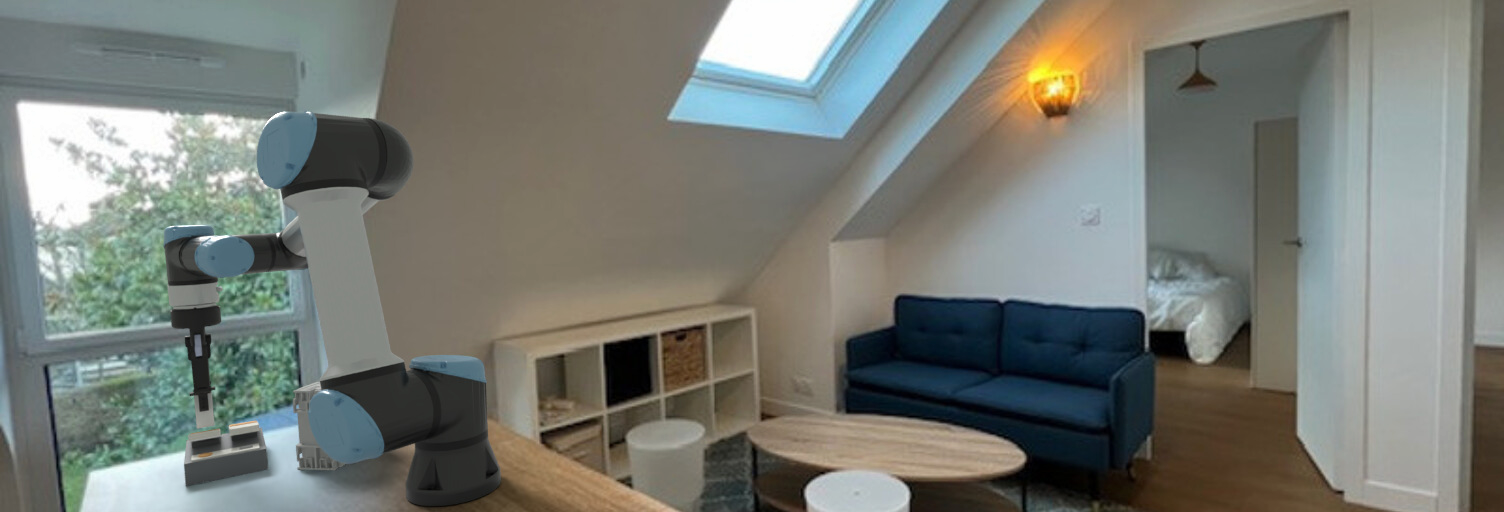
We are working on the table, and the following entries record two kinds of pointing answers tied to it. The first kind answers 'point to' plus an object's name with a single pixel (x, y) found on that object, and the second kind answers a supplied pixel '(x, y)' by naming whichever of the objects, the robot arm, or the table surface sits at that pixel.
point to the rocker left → (204, 434)
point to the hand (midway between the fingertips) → (205, 426)
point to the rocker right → (243, 428)
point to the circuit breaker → (310, 434)
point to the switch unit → (224, 457)
